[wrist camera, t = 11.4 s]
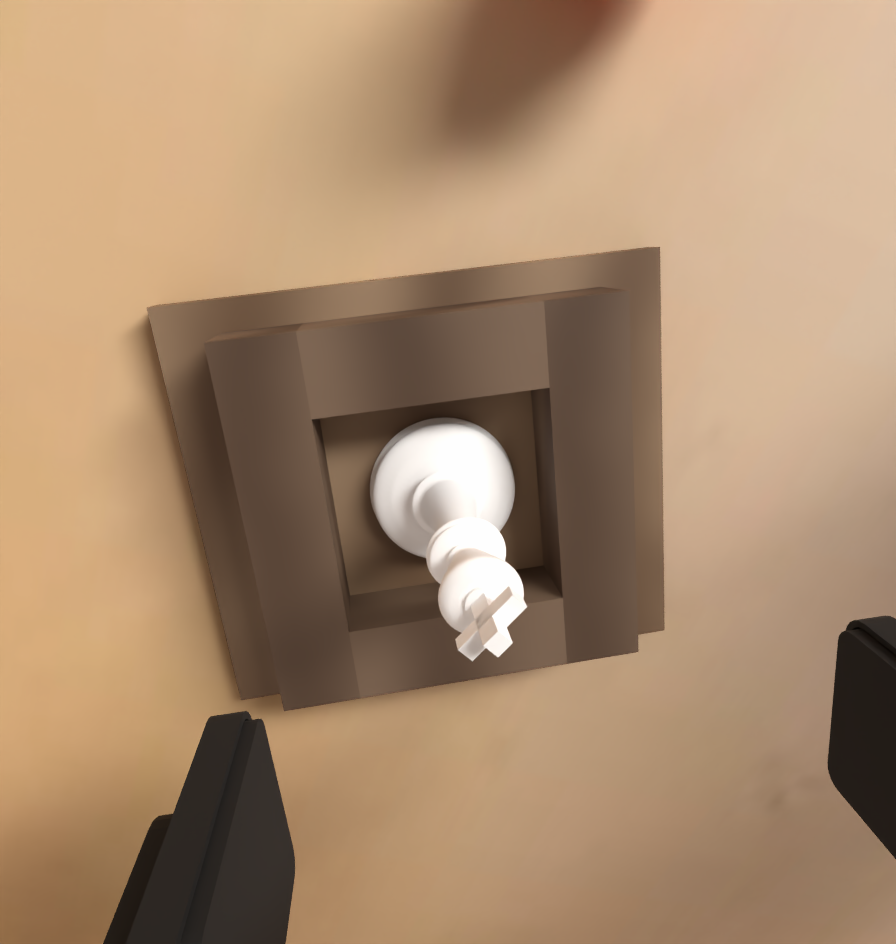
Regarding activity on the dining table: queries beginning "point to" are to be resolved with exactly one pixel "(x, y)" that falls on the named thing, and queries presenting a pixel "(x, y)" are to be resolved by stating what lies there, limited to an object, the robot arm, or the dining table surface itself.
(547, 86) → the dining table surface
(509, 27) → the dining table surface
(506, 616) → the chess piece
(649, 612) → the socket board
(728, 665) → the dining table surface
